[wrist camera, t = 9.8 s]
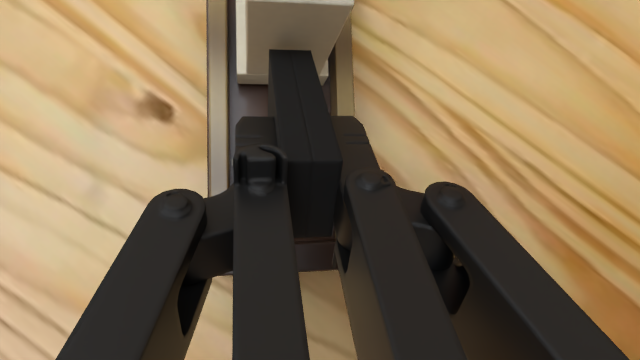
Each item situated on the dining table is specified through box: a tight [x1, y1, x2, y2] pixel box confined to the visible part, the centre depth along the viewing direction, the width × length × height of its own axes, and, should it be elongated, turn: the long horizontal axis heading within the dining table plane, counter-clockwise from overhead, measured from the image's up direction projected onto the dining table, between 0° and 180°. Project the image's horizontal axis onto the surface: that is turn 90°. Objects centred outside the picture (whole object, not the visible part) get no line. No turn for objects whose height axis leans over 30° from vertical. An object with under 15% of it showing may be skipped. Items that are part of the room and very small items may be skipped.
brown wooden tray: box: [206, 0, 355, 276], centre depth 21 cm, size 21×7×4 cm, turn 2°
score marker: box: [236, 0, 354, 85], centre depth 17 cm, size 4×4×9 cm
